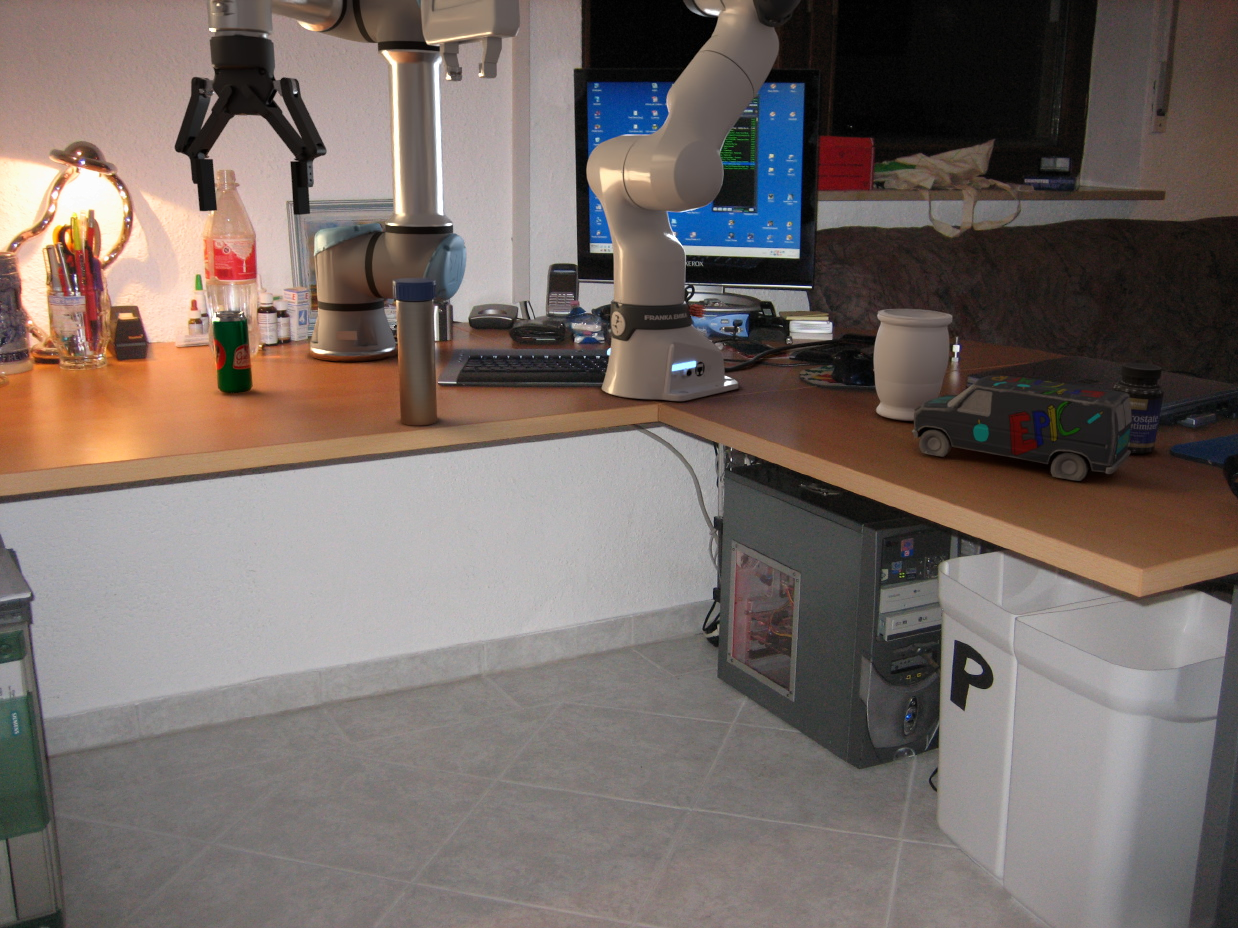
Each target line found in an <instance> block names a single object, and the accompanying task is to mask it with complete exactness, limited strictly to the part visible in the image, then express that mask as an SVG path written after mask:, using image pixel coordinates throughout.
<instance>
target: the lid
mask: <svg viewBox="0 0 1238 928" xmlns="http://www.w3.org/2000/svg"><path fill="white" fill-rule="evenodd" d="M392 287H393V298H394V299H393V300H396V299H397V300H406V301H422V300H431V299H435V298H436V284H435V280H434V279H429V278H400V279H394V280H393V284H392Z"/></svg>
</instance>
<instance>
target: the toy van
mask: <svg viewBox="0 0 1238 928" xmlns="http://www.w3.org/2000/svg"><path fill="white" fill-rule="evenodd" d="M914 410H915V412H914V421H913V429H912V430H911V433H912V435H913V438H914V439H918V438H919V439H918V447H919V450H920V452H921V453H922V454H926V455H930V456H934V457H935V456H936V457H942V458H945V457H946V456H947V455H948V454H949V453H950V452H951V450H952V448H958V449H962V450H963V449H964V450H969V451H974V452H978V453H979V452H980V453H984V454H985V453H986V454H990V455H996V456H1002V457H1007V458H1012V459H1013V458H1014V459H1019V460H1024V461H1029V462H1033V463H1039V464H1043V465H1044V464H1045V465H1048V464H1049V465H1050V463H1051V465H1050V475H1051V476H1052V478H1058V479H1065V480H1069V481H1077V482H1080V481H1082V480H1083V479H1085V478H1086V476H1087V474H1088V472H1089V469H1091V472H1098V473H1105V474H1107V475H1112V474H1113V473H1115V472H1116V471H1117V470H1118V469H1119V468H1120V467H1121V466H1122V465H1123V464H1124V463H1125V462H1126V461H1127V460H1128V458H1129V457H1130V455H1131V454H1132V453H1131V451H1130V450H1128V446H1129V445H1130V442H1129V440H1130V436H1131V430H1132V427H1133V423H1132V414H1131V405H1130V396H1129V394H1127V393H1124V392H1118V391H1112V389H1111V390H1110V389H1104V388H1097V387H1090V386H1084V385H1078V384H1071V383H1064V382H1058V381H1051V380H1043V379H1036V378H1030V377H1029V378H1028V377H1019V376H1009V375H1007V376H1006V375H999V374H997V375H996V374H995V375H987V376H984V377H980V378H979V379H977V380H976V381H975V382H973V383H972V384H971V385H970V386H968V387H967V388H966V389H965V390H963V391H962V392H960V393H958V394H943V395H939V396H938V397H937V398H934V399H932V400H929V401H927V402H925V403H923V404H921V405H920V406H918V407H917V408H915V409H914Z"/></svg>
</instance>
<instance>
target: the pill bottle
mask: <svg viewBox="0 0 1238 928" xmlns="http://www.w3.org/2000/svg"><path fill="white" fill-rule="evenodd" d="M1162 371H1163V367H1161V366H1158V365H1155V364H1149V363H1142V362H1141V363H1140V362H1126V363H1122V365H1121V369H1120V375H1121V380H1119V381H1116V382H1115V383H1114V384H1113V385H1112V388H1111V391H1118V392H1124V393H1127V394H1129V396H1130V405H1131V414H1132V423H1133V427H1132V430H1131V436H1130V440H1129V442H1130V445H1129V446H1128V450H1130V451H1131V453H1130V454H1140V455H1141V454H1148V453H1151V452H1153V451H1154V450H1155V448H1156V440H1157V435H1158V428H1159V424H1160V419H1161V418H1160V417H1161V412H1162V407H1163V399H1164V395H1165V391H1164V389H1163V387H1162V386H1161V385H1159V383H1158V381H1159V380H1160V379H1161V377H1162Z"/></svg>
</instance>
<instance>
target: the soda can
mask: <svg viewBox="0 0 1238 928" xmlns="http://www.w3.org/2000/svg"><path fill="white" fill-rule="evenodd" d="M248 320H249V319H248V317H247V316H246V315H245V311H243V310H219V311H215V312H214V313H213V317H212V319H211V325H212V327H211V328H212V338H213V348H214V349H213V351H214V359H215V360H214V361H215V372H216V382H217V384H216V385H217V389H218V390H219V391H220V392H221V393H224V394H229V395H231V394H233V395H234V394H243V393H248V392H250V391H251V390H252V388H253V386H254V383H253V373H252V370H253V369H252V358H251V347H250V334H249V333H250V331H249V321H248Z"/></svg>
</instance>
